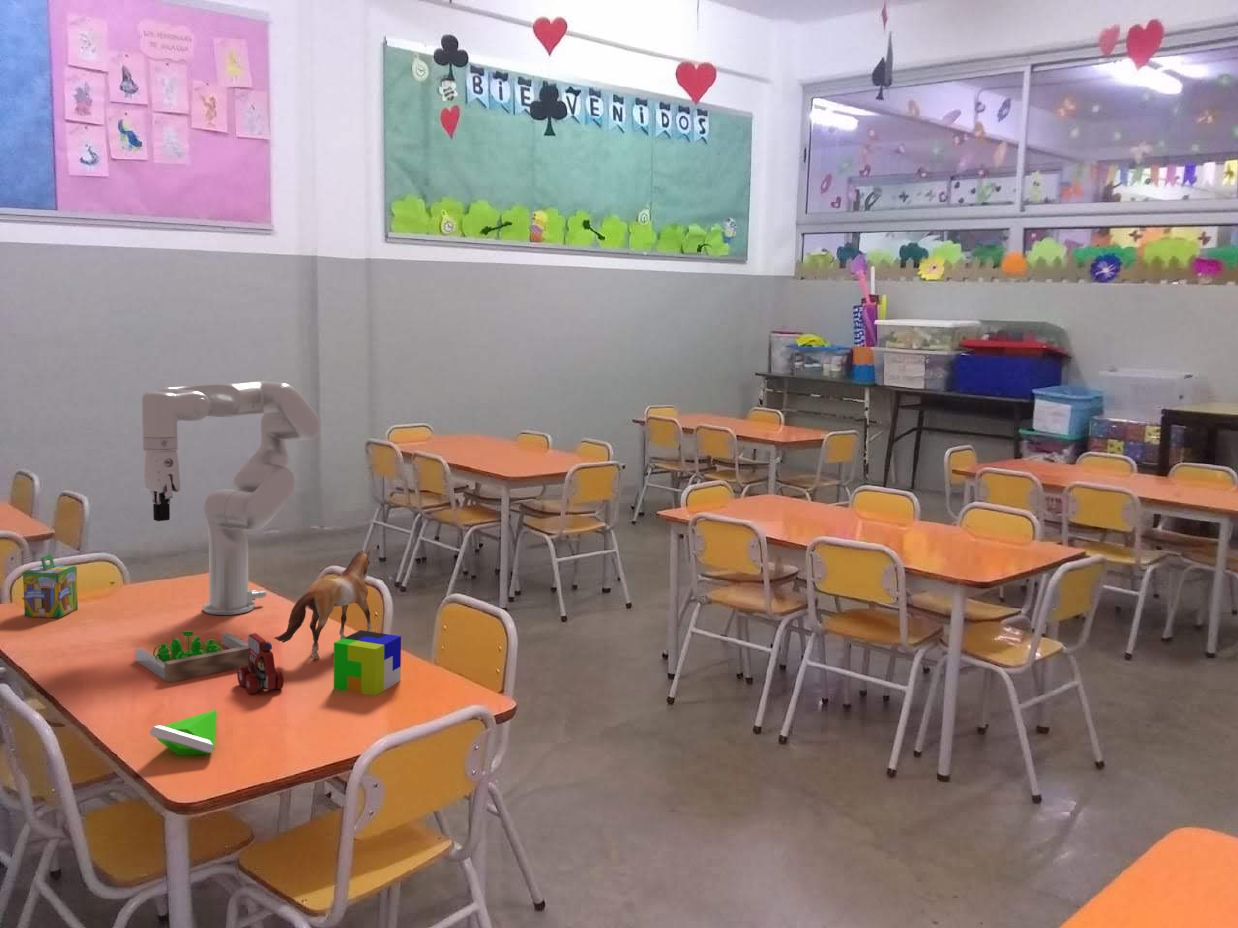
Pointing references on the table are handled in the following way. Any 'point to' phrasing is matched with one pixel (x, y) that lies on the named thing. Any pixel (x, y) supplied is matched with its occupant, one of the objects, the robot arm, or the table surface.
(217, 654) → the walnut bay
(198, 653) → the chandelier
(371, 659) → the puzzle toy
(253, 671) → the toy fire truck
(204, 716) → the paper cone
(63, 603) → the chalk box
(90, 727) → the table surface
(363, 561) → the horse figurine
